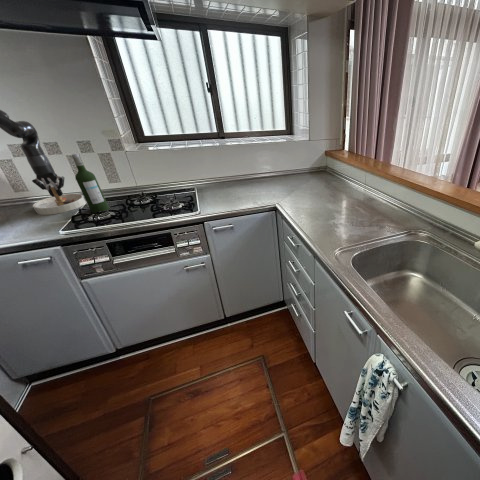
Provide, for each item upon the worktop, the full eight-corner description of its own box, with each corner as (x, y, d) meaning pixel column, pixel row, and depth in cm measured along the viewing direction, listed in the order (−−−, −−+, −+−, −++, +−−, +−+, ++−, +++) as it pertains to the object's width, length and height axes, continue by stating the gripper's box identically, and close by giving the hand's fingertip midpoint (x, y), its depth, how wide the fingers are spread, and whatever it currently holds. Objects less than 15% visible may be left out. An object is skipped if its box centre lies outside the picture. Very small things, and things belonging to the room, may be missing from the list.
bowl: (27, 218, 137) (22, 210, 135) (50, 203, 155) (46, 196, 153) (76, 213, 143) (72, 205, 140) (92, 199, 160) (89, 192, 158)
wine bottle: (103, 206, 150) (78, 152, 134) (112, 208, 147) (88, 153, 132) (88, 212, 143) (60, 155, 128) (98, 214, 141) (71, 156, 126)
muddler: (55, 206, 145) (46, 188, 140) (59, 203, 148) (50, 186, 143) (64, 205, 146) (55, 187, 141) (68, 202, 149) (59, 185, 144)
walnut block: (65, 207, 147) (62, 202, 145) (69, 205, 150) (66, 199, 148) (73, 207, 147) (70, 201, 146) (76, 204, 150) (73, 199, 149)
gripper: (60, 161, 141) (75, 192, 149) (28, 163, 137) (45, 195, 146) (52, 164, 134) (69, 196, 143) (18, 167, 131) (37, 200, 140)
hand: (57, 195), depth 144 cm, fingers closed on muddler, 2 cm apart
